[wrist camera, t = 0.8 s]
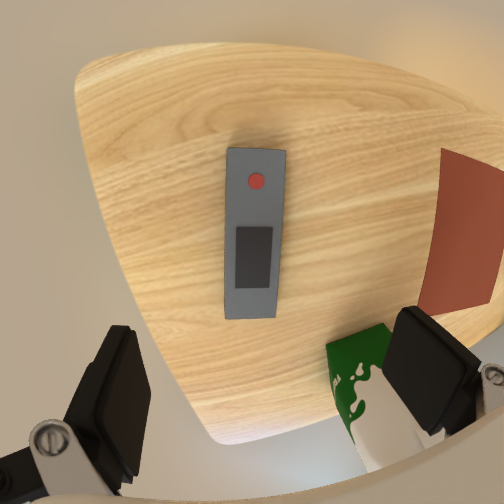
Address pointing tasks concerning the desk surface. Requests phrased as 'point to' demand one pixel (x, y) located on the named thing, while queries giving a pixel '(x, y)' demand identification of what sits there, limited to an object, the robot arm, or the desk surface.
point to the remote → (253, 231)
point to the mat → (464, 236)
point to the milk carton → (373, 401)
